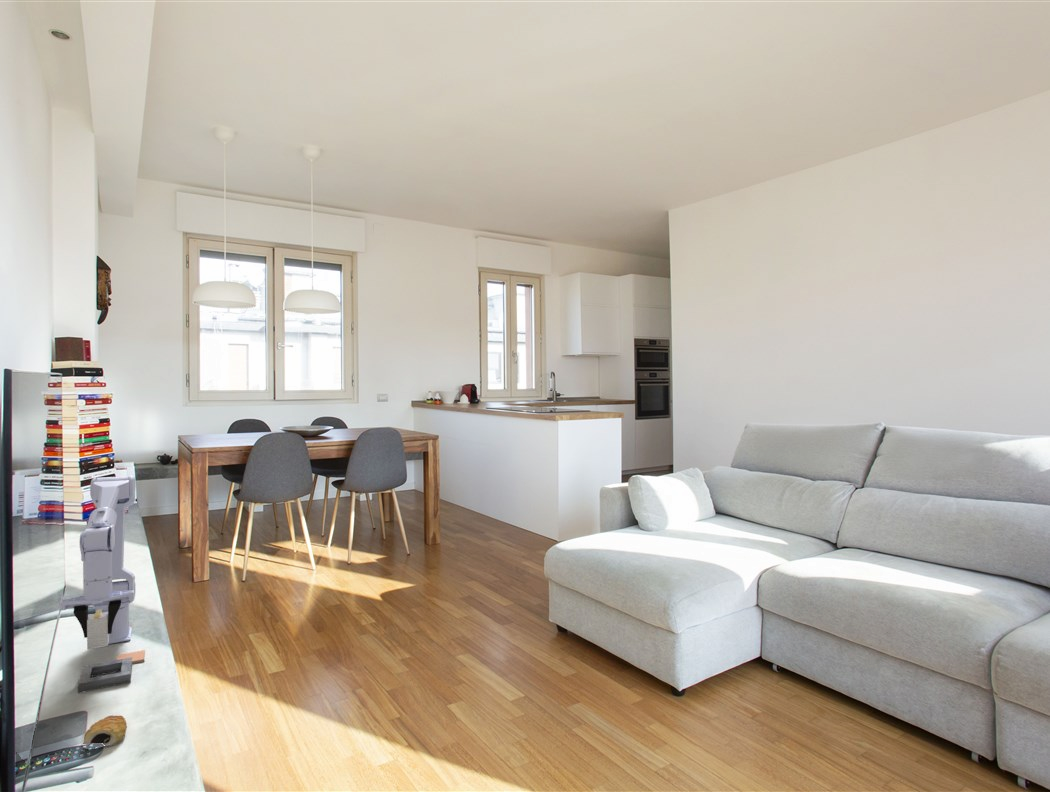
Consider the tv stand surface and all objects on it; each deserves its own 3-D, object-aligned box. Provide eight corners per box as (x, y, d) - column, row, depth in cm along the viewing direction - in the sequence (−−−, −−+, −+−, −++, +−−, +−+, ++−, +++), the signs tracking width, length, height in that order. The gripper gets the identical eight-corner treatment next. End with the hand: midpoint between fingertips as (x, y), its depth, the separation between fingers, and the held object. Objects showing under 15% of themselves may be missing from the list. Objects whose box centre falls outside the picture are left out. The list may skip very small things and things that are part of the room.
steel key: (89, 642, 150) (89, 611, 150) (109, 639, 152) (108, 608, 152) (87, 650, 146) (86, 618, 146) (107, 647, 148) (107, 615, 148)
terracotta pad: (117, 657, 158) (117, 655, 158) (144, 652, 161) (144, 650, 161) (115, 666, 153) (115, 664, 153) (144, 661, 156) (144, 659, 156)
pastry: (95, 727, 127) (95, 709, 127) (133, 721, 129) (133, 703, 129) (80, 753, 118) (80, 733, 118) (121, 747, 120) (121, 727, 120)
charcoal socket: (82, 674, 149) (82, 666, 149) (132, 665, 154) (132, 657, 154) (78, 692, 140) (77, 684, 140) (130, 682, 145) (130, 673, 145)
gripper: (57, 587, 142) (58, 646, 142) (132, 577, 149) (133, 634, 149) (62, 578, 148) (62, 635, 148) (134, 570, 155) (134, 624, 155)
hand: (98, 634), depth 149 cm, fingers closed on steel key, 4 cm apart
